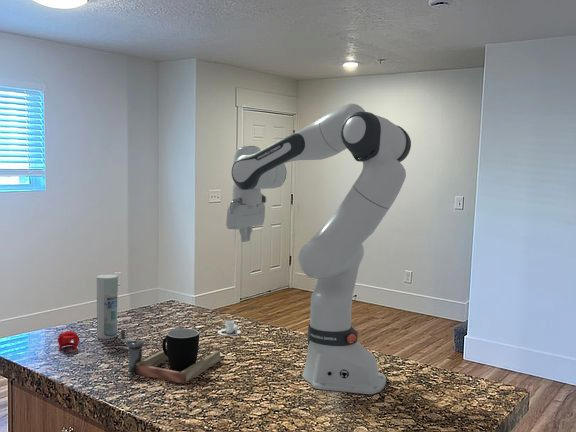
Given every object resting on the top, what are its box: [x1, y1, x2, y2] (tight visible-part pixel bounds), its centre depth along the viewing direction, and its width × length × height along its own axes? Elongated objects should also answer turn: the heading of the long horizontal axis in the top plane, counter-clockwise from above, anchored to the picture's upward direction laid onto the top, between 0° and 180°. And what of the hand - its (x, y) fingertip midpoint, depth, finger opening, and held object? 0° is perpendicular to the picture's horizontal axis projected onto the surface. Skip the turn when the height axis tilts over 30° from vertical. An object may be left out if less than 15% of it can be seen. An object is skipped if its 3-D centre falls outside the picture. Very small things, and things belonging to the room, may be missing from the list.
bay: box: [135, 349, 221, 385], centre depth 152 cm, size 15×19×3 cm
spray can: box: [96, 274, 119, 340], centre depth 178 cm, size 6×6×20 cm
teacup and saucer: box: [217, 320, 242, 337], centre depth 187 cm, size 9×8×4 cm
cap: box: [57, 330, 80, 350], centre depth 165 cm, size 7×6×6 cm
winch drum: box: [120, 329, 145, 373], centre depth 149 cm, size 7×5×11 cm, turn 68°
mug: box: [161, 327, 200, 372], centre depth 152 cm, size 12×9×10 cm
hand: (245, 241), depth 173 cm, fingers closed
